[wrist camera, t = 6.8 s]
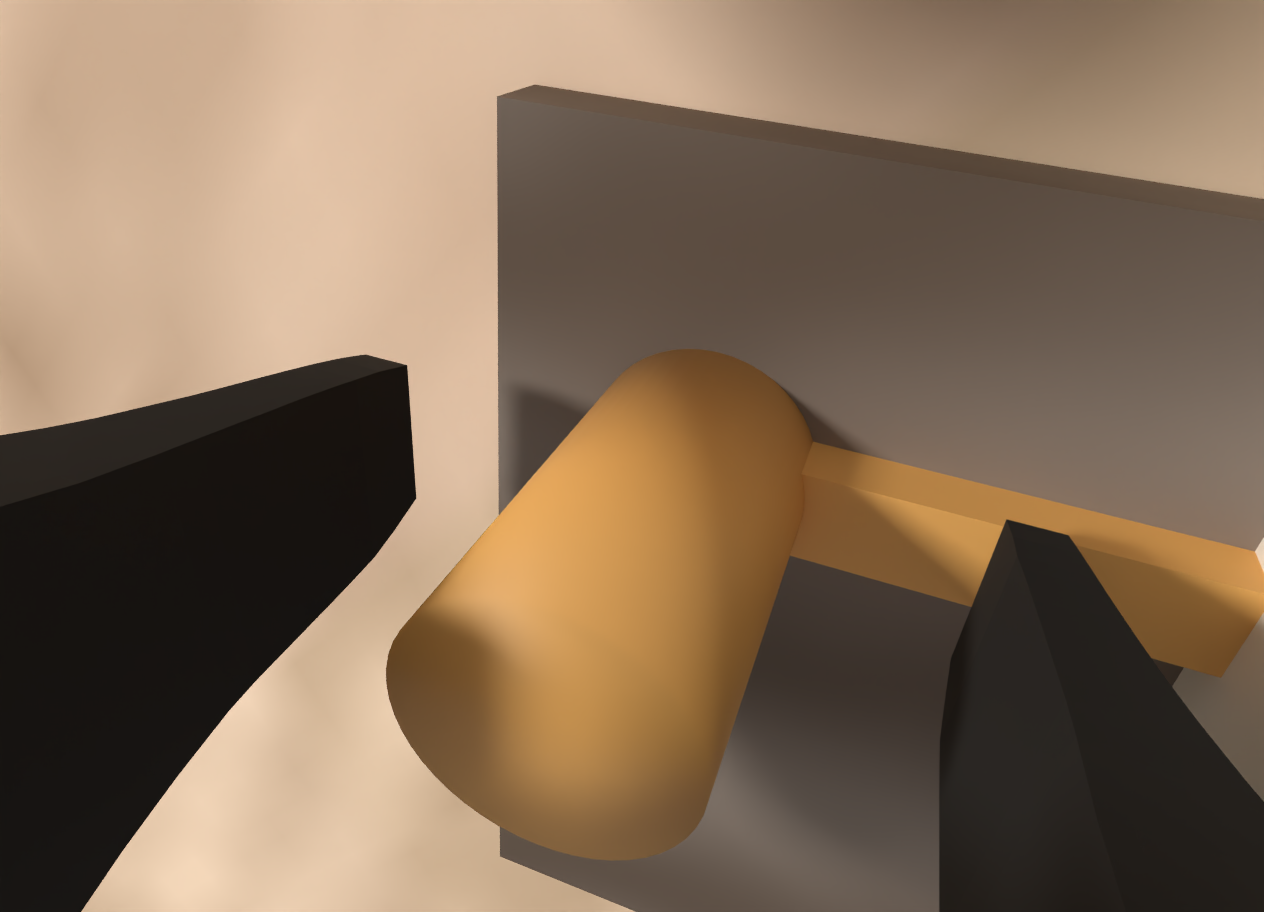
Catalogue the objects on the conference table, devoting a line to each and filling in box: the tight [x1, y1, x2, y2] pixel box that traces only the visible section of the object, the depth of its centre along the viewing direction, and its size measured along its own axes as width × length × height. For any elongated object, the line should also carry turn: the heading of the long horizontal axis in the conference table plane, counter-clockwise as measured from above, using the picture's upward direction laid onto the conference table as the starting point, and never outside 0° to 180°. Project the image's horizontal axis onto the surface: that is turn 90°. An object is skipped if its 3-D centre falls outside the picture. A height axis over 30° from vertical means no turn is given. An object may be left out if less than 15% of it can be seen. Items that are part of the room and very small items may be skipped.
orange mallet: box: [386, 349, 1264, 861], centre depth 8 cm, size 5×13×5 cm, turn 85°
